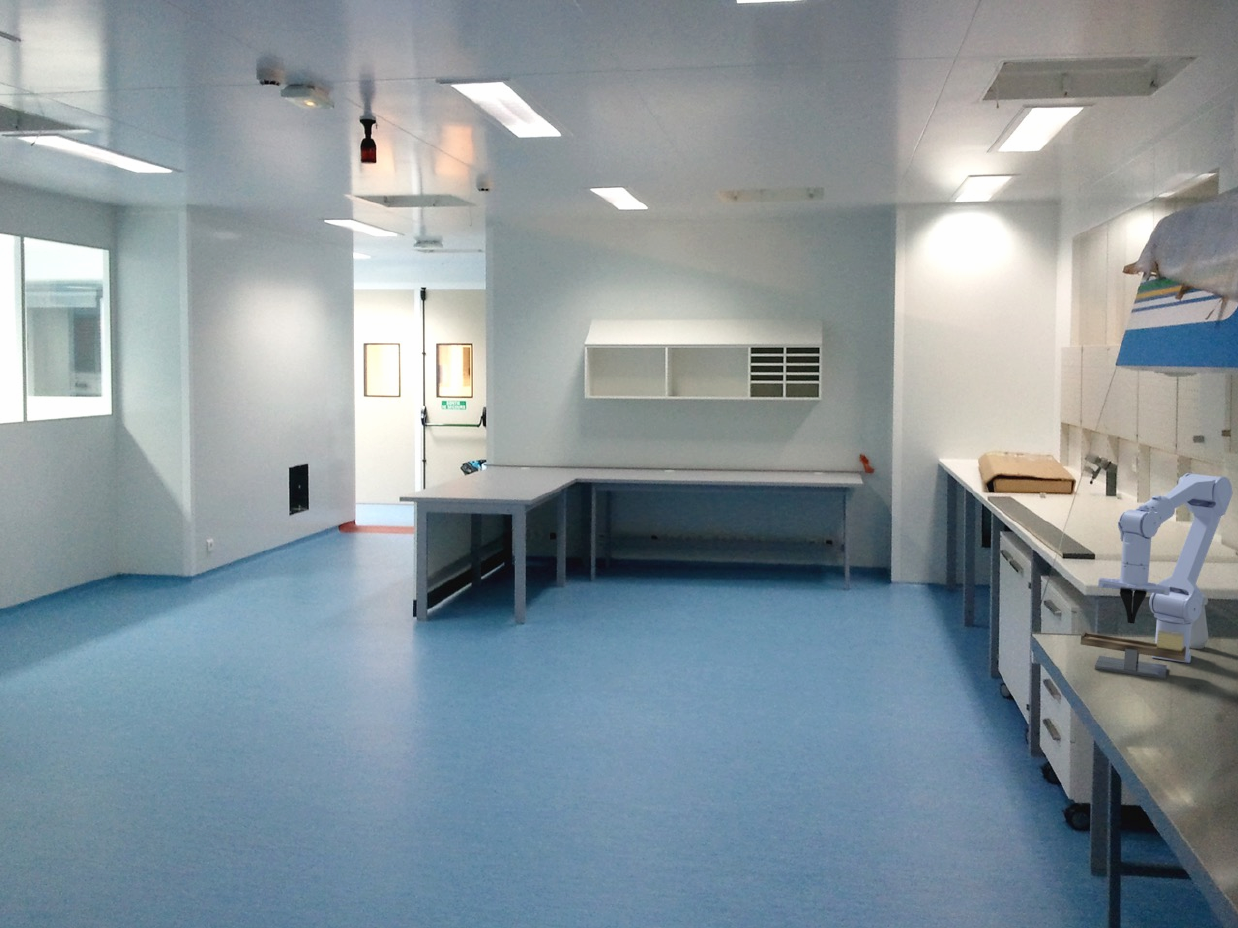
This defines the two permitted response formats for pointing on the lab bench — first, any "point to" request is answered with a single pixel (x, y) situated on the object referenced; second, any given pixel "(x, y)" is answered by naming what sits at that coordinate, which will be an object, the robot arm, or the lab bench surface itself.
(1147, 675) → the pivot stand
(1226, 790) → the lab bench surface
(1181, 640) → the block
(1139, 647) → the beam
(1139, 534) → the robot arm
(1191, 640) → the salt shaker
